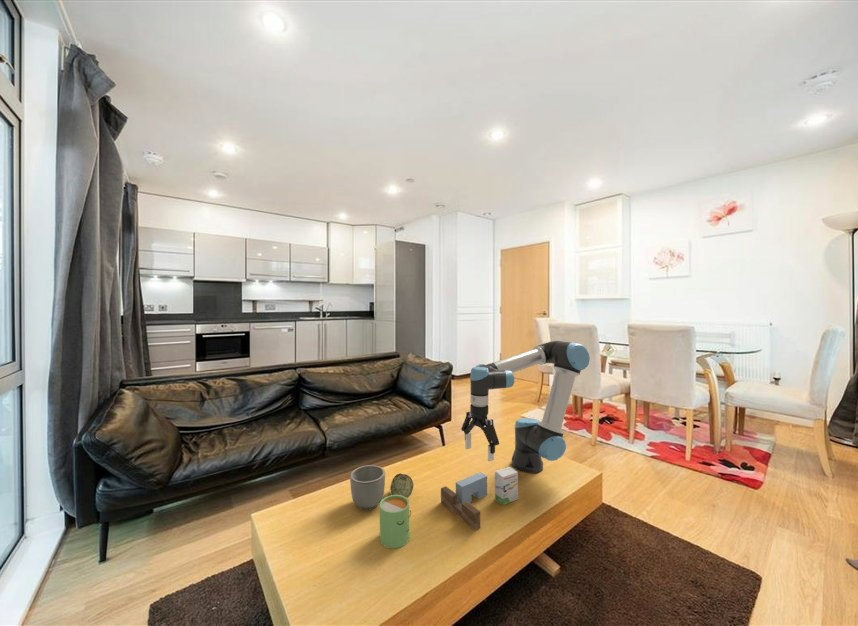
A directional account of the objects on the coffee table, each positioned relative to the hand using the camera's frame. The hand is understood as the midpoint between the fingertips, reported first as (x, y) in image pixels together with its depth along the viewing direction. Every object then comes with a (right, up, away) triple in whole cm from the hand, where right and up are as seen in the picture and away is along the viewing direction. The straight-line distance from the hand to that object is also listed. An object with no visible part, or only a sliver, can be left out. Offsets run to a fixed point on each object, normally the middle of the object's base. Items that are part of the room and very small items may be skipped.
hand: (479, 454), depth 137 cm
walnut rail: (-9, -18, -12) cm, 24 cm away
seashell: (-33, -18, -1) cm, 37 cm away
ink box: (+11, -18, -3) cm, 21 cm away
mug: (-32, -18, -24) cm, 44 cm away
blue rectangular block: (-3, -17, -2) cm, 18 cm away
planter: (-46, -18, -6) cm, 50 cm away
